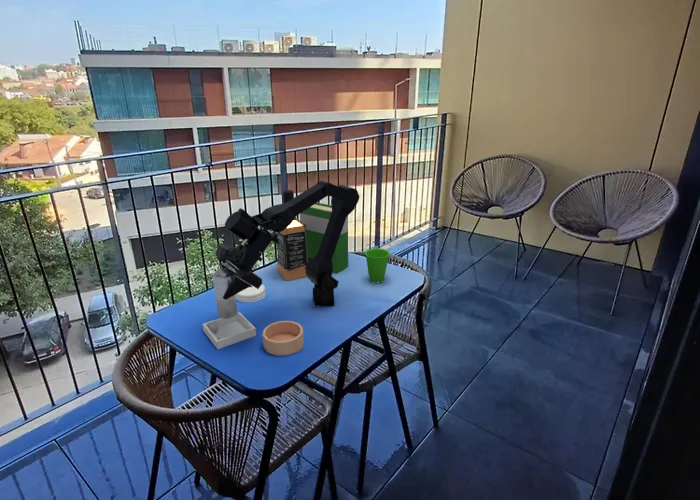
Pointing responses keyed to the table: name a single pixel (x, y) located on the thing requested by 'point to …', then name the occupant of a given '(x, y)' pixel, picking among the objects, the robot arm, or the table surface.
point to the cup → (377, 263)
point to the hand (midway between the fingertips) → (220, 295)
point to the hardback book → (315, 230)
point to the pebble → (213, 328)
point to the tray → (230, 330)
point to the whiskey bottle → (292, 247)
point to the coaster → (251, 294)
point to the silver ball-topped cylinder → (221, 284)
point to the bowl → (283, 338)
